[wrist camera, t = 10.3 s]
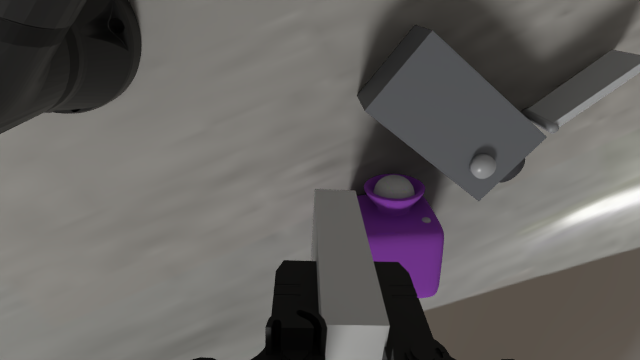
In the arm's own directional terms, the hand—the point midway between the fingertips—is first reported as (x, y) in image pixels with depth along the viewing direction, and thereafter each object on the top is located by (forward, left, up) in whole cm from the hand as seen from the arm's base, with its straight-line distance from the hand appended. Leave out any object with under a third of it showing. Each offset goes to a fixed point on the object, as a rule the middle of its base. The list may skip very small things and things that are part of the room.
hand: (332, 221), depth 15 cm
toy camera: (+17, -8, -30) cm, 35 cm away
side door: (+22, +16, -29) cm, 40 cm away
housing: (+13, +6, -29) cm, 33 cm away
